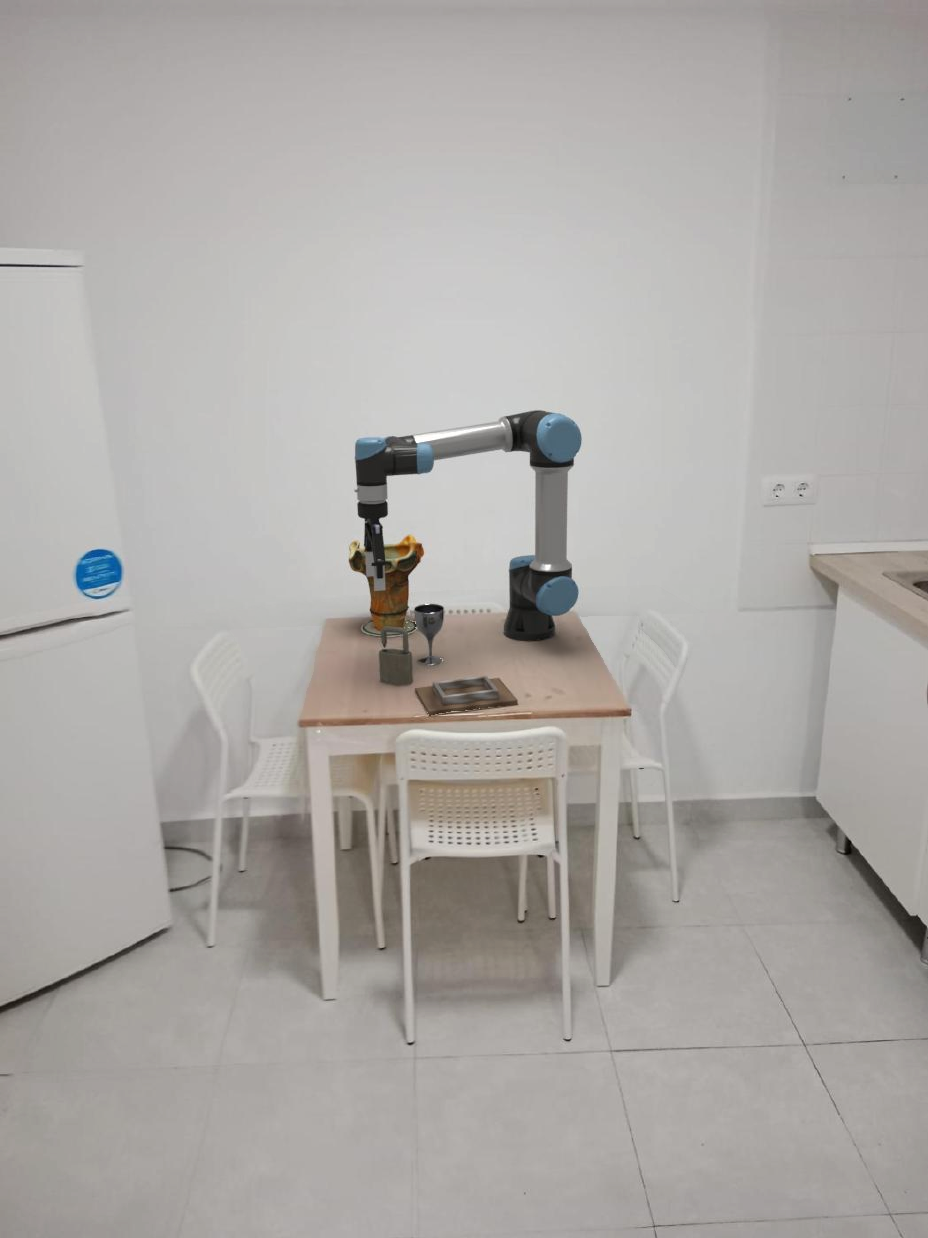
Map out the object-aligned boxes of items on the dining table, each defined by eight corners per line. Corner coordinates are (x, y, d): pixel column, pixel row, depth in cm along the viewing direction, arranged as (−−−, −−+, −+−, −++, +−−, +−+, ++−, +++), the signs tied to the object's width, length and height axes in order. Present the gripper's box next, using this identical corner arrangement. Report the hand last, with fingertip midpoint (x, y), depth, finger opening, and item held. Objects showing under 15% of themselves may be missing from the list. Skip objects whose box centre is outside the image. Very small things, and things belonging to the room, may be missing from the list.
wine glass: (441, 666, 252) (440, 613, 248) (413, 665, 254) (411, 612, 249) (448, 656, 260) (446, 604, 255) (420, 654, 261) (418, 603, 257)
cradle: (498, 682, 241) (498, 670, 240) (517, 704, 228) (517, 692, 227) (415, 692, 236) (414, 680, 235) (429, 716, 222) (428, 703, 221)
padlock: (385, 677, 246) (382, 623, 241) (414, 680, 243) (411, 625, 239) (378, 682, 242) (376, 627, 238) (408, 686, 240) (405, 630, 235)
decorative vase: (339, 622, 288) (339, 532, 280) (410, 615, 297) (411, 528, 289) (360, 643, 270) (360, 548, 262) (435, 635, 279) (437, 542, 271)
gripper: (350, 492, 245) (354, 571, 251) (364, 511, 222) (368, 597, 228) (379, 491, 246) (382, 569, 253) (395, 509, 223) (398, 595, 230)
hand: (375, 583), depth 241 cm, fingers open, 13 cm apart
